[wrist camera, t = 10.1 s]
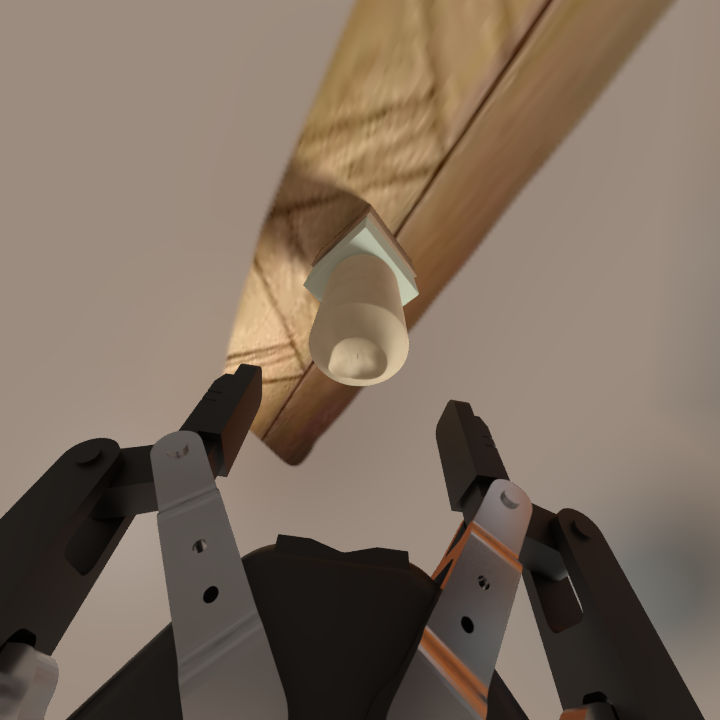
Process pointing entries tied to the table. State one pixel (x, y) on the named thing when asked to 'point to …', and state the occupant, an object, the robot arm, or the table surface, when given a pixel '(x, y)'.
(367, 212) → the base block
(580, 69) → the table surface
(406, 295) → the top block
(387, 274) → the candle
